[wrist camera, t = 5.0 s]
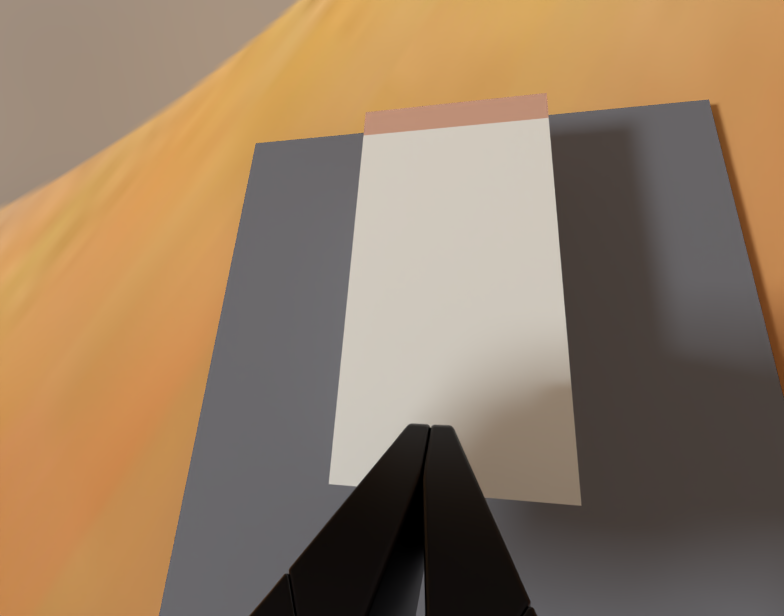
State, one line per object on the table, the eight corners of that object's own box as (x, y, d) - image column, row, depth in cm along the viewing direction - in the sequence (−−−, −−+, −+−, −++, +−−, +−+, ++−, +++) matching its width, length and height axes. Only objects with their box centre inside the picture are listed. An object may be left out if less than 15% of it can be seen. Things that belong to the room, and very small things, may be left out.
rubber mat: (903, 954, 9) (931, 987, 8) (141, 759, 13) (126, 773, 12) (701, 111, 17) (708, 99, 16) (261, 151, 20) (255, 143, 20)
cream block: (581, 505, 9) (546, 93, 13) (328, 484, 10) (366, 112, 14) (549, 488, 13) (530, 172, 16) (367, 474, 14) (388, 182, 18)
